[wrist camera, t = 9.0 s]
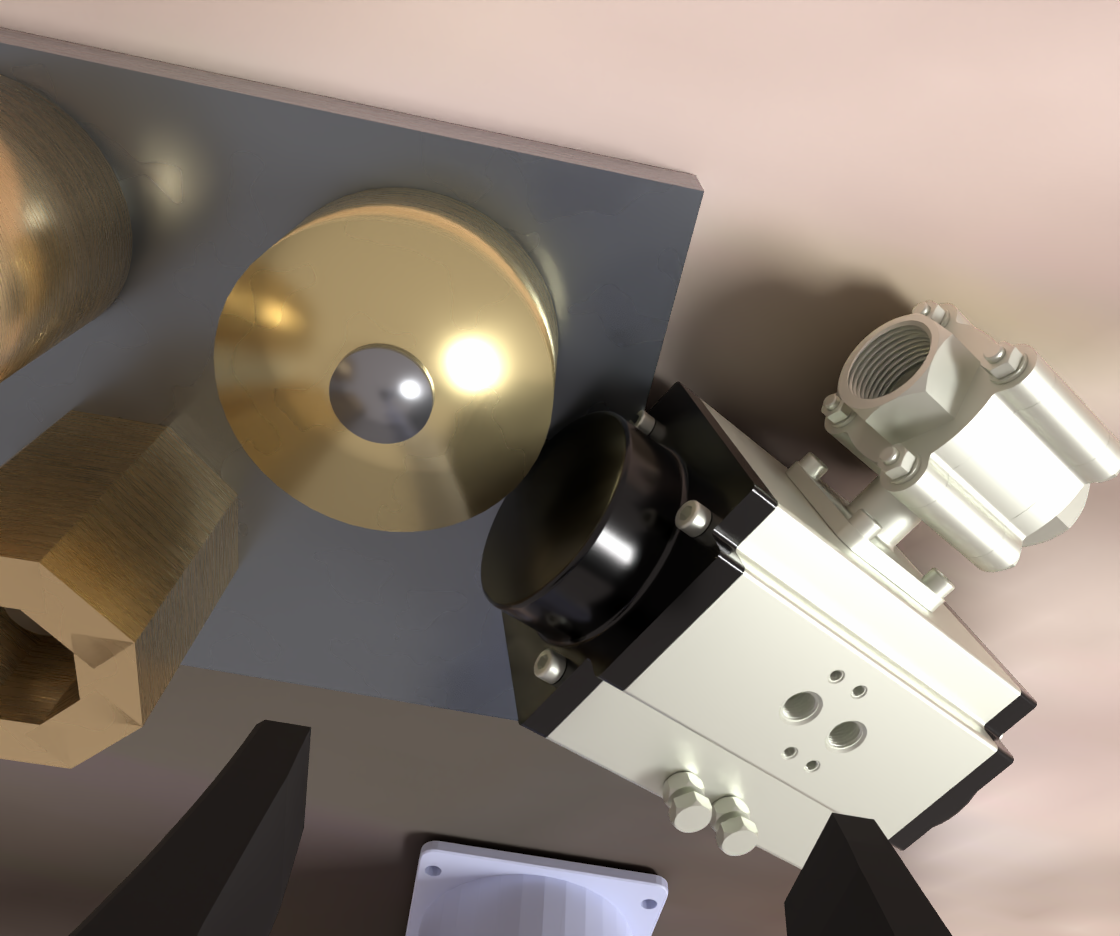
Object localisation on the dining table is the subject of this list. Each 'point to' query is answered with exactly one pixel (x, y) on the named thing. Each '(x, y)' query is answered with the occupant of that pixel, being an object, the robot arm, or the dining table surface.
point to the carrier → (325, 337)
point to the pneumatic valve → (791, 589)
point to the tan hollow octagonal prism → (103, 579)
